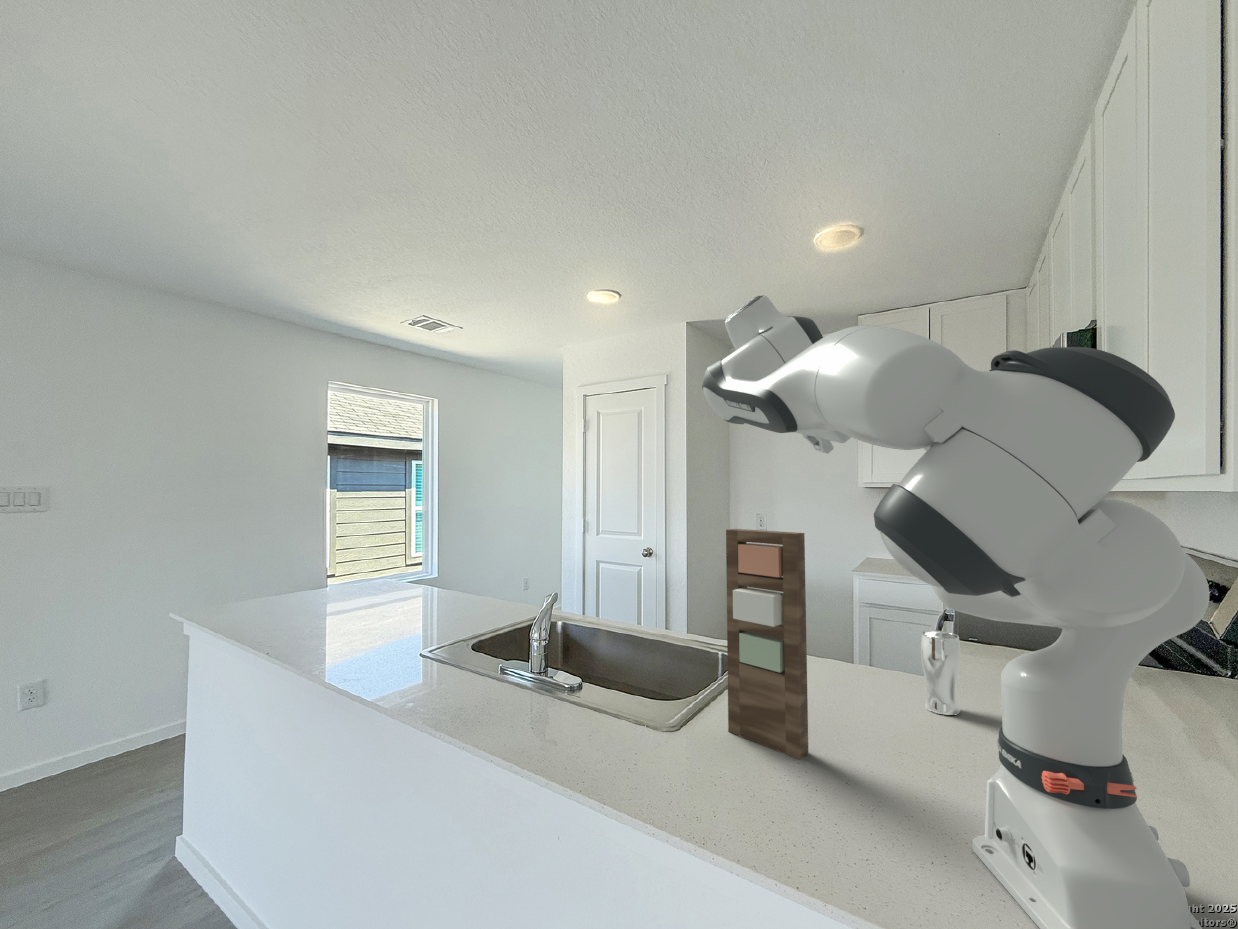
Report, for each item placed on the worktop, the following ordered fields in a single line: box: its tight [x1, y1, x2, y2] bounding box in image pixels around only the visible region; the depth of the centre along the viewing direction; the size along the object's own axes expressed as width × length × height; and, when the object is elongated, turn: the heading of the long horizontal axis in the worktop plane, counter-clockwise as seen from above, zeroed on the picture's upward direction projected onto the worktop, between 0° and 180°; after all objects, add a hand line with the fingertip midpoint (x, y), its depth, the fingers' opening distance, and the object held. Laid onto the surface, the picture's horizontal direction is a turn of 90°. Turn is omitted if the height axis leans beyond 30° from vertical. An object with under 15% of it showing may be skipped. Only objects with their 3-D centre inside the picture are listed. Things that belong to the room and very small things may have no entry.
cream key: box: [733, 587, 784, 627], centre depth 93 cm, size 4×8×5 cm, turn 44°
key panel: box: [725, 528, 809, 760], centre depth 94 cm, size 3×14×37 cm, turn 44°
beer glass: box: [920, 629, 962, 715], centre depth 107 cm, size 7×7×15 cm
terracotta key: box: [738, 542, 783, 577], centre depth 95 cm, size 4×8×5 cm, turn 44°
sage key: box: [739, 631, 785, 672], centre depth 94 cm, size 4×8×5 cm, turn 44°
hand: (825, 450), depth 93 cm, fingers closed
